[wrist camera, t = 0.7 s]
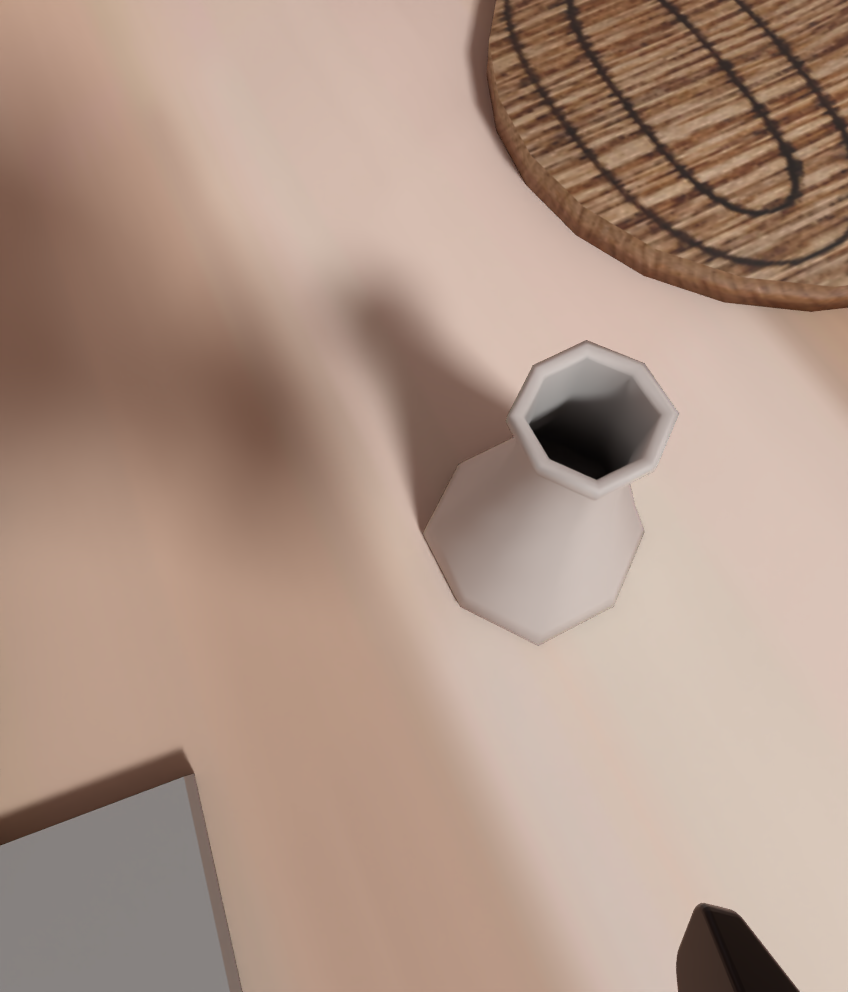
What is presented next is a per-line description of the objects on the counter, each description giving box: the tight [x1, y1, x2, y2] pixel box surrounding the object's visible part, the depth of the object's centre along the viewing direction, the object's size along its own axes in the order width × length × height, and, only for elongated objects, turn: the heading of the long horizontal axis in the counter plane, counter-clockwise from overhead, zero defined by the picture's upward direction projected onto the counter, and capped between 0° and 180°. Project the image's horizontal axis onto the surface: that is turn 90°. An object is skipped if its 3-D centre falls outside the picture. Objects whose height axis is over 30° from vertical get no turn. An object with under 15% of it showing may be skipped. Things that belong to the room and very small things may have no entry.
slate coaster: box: [0, 774, 242, 992], centre depth 18 cm, size 9×9×1 cm
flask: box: [423, 340, 679, 646], centre depth 17 cm, size 7×7×10 cm
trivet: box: [487, 0, 848, 312], centre depth 27 cm, size 25×25×2 cm
